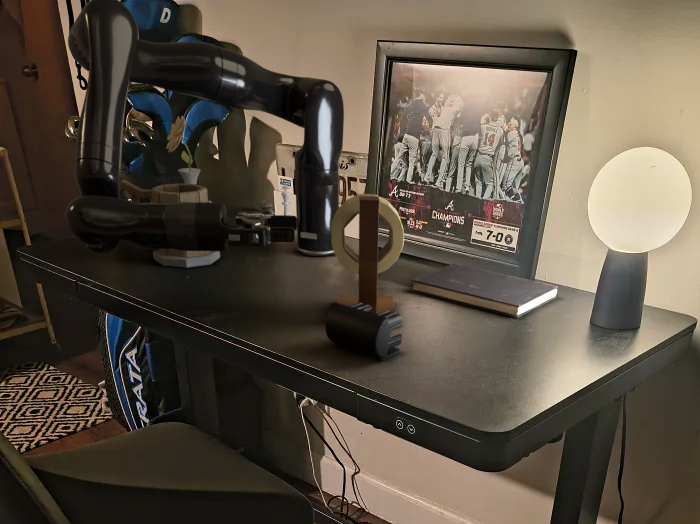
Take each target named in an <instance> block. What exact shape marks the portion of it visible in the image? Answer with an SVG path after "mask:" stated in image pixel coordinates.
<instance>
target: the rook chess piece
mask: <svg viewBox="0 0 700 524" xmlns="http://www.w3.org/2000/svg"><path fill="white" fill-rule="evenodd" d="M258 207H259V208H260V211H270V212H271V213H272V214H274V213H273V211H272V209H273V207H274V205H273V203H272V200H268V199H266V200H264V199H262V200H260V201H259V205H258ZM264 223H265V219H264Z"/></svg>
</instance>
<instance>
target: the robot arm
mask: <svg viewBox="0 0 700 524" xmlns="http://www.w3.org/2000/svg"><path fill="white" fill-rule="evenodd" d="M139 34H140V33H139V27H138V24H137V22H136V19H135V17H134V15H133V14H132V12H131V11H130V9H129V8H128V7H127V6H126V5H125V4H124V3H123V2H121V1H120V0H89V1H88V2H87V3H86V4H85V5H84V6H83V8H82V9H81V11H80V13H79V14H78V16H77V17H76V19H75V20H74V22H73V24H72V25H71V28H70V30H69V33H68V36H67V46H68V50H69V52H70V54H71V56H72V57H73V59H74V60H75V61H76V62H77V64H78V65H79V66H80V67H82V68H83V69H84V70H85V71H87V72H88V77H87V84H86V89H85V95H84V101H83V105H82V107H81V113H80V117H79V121H78V126H77V130H76V131H77V132H76V140H75V156H74V179H75V182H76V184H77V187H78V189H79V193H80V196H77V197H76V198H73V199H72V200H71V201H70V202H69V203H68V205H67V207H66V208H65V214H64V215H65V221H66V224H67V227H68V228H69V230H70V231H71V232H72V234H73V235H74V236H75V237H76V238H77V240H79V242H80V243H81V244H82V246H84V247H85V248H86V249H87V250H89V251H90V252H92V253H94V254H98V255H106V254H109V253H111V252H114V250H115V249H116V248H117V247H119V244H120V243H121V241H127V242H130V243H133V244H134V245H136V246H137V247H139V248H142V249H148V248H149V249H148V250H157V249H176V250H183V251H220V252H226V251H227V250H228V247H229V246H231V247H235V246H236V247H261V248H264V247H266V246H267V245H269V244H272V243H294V242H295V240H296V243H297V245H296V252H297V253H299V254H301V255H305V256H309V257H328V256H333V255H334V256H335V253H334V250H333V248H332V245H331V223H332V221H333V218H334V215H335V213H336V211H337V209H338V208H339V207H340V158H341V156H342V153H343V147H344V129H345V128H344V127H345V106H344V98H343V95H342V92H341V90H340V88H339V87H338V85H337V84H335V83H334V82H333V81H331V80H328V79H323V78H315V77H307V76H296V75H290V74H284V73H280V72H276V71H273V70H270V69H268V68H265V67H263V66H262V65H260V64H258V63H257V62H255V61H254V60H252V59H251V58H250V57H247V56H245V55H243V54H241V53H239V52H236V51H234V50H231V49H228V48H226V47H222V46H219V45H216V44H214V43H209V42H204V41H175V42H173V41H172V42H153V41H147V40H143V39H140V38H139V37H140V35H139ZM130 83H134V84H141V85H147V86H151V87H156V88H159V89H163V90H166V91H170V92H174V93H178V94H180V95H185V96H189V97H193V98H196V99H199V100H202V101H205V102H209V103H212V104H216V105H218V106H223V107H226V108H231V109H237V110H246V111H258V112H263V113H266V114H269V115H272V116H274V117H277V118H279V119H282V120H284V121H286V122H289V123H291V124H292V125H295V126H297V127H299V128H301V129H303V144H302V146H301V147H300V148H299V149H297V150H296V151H295V153H294V183H295V184H294V185H295V211H296V215H290V216H288V215H284V214H281V215H280V214H275V213H271V212H270V211H261V210H237V211H235V215H231V216H229V215H228V214H227V213H228V212H227V207H226V205H225V204H224V203H223V202H212V203H206V202H177V203H167V204H166V203H150V202H143V203H136V202H132V201H131V200H128V199H124V198H122V197H121V193H120V187H119V184H120V181H121V172H122V156H123V155H122V153H123V138H124V137H123V134H124V122H125V113H126V106H127V105H126V104H127V97H128V91H129V86H130ZM264 219H265V223H264ZM295 231H296V233H295Z"/></svg>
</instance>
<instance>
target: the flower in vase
mask: <svg viewBox="0 0 700 524" xmlns="http://www.w3.org/2000/svg"><path fill="white" fill-rule="evenodd" d="M186 126H187V123H186V119H185V117H184V115H181V117H180V115H178V116H177V117H176V120H175V123H172V124H171V129H170V132H169V133H170V134H169V135H167V138H166V140H167V141H168V143H167V144H166V147H165V149H166V150H168V151H167V152H168V153H173V152H174V151H175V150H176V149H177V148H178V147H179V145H180V142H181V141H182V142H183V145H184V147H185V148H186V150H187V152H186V151H185V150H183V151H182V153H181V156H180V158H181V159H182V160H183V161H184V162H185V163H187V167H183V168H179V169H177V172H178V173H179V174H180V176H181V177H182V180H183V182H184V184H196V185H198V184H197V183H198V177H199V175H200V173H201V169H200V168H195V167H192V164H193V162H194V160H193V155H192V154H191V151H190V149H189V147H188V145H187V143H186V141H185V139H184V138H183V137H184V133H185V130H186ZM187 153H188V154H187Z"/></svg>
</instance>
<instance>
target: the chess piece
mask: <svg viewBox="0 0 700 524" xmlns="http://www.w3.org/2000/svg"><path fill="white" fill-rule="evenodd" d="M281 189H282V190H284V191H282V192H281V196H282V199H283V202H281V205H282V206H283V207H284V208H283V215H288V216H291V214H290V209H289V206H290V205H291V202H290V201H289V199H290V196H291V192H289V191H288V190H290V186H287V183H284V184H283V186H281Z"/></svg>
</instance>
